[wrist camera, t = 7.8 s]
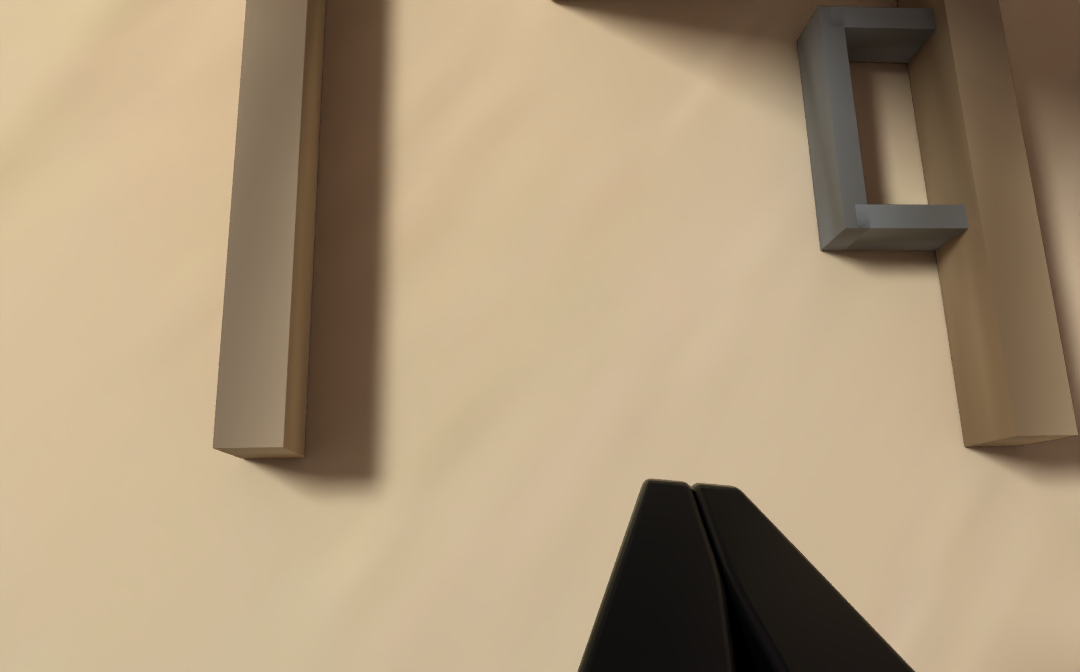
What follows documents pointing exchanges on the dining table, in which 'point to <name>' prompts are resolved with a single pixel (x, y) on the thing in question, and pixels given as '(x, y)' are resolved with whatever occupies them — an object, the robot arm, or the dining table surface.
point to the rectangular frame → (840, 197)
